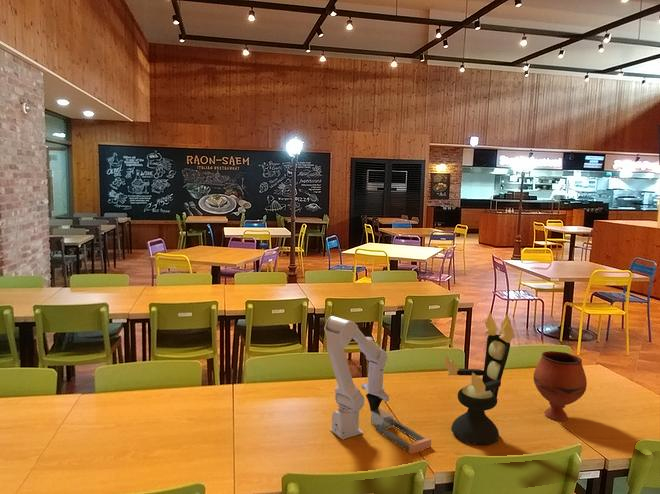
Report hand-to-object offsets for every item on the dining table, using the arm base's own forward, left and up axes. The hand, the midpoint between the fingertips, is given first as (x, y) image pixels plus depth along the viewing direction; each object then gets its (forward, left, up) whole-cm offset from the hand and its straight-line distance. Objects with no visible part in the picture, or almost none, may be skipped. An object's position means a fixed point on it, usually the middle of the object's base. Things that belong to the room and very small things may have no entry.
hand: (374, 412), depth 196 cm
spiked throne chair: (+27, -28, -3) cm, 39 cm away
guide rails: (0, -16, -3) cm, 16 cm away
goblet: (+66, -34, -3) cm, 74 cm away
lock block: (0, -5, -3) cm, 6 cm away
